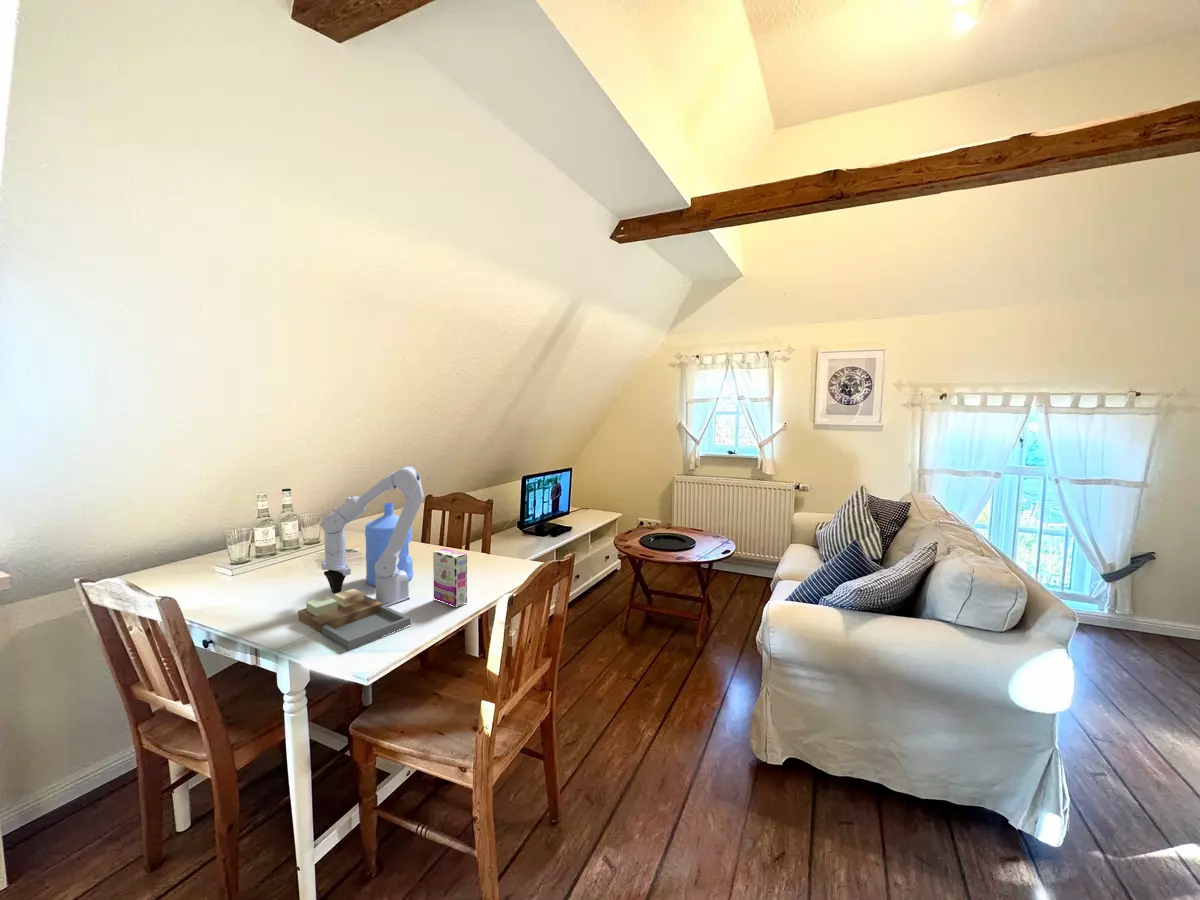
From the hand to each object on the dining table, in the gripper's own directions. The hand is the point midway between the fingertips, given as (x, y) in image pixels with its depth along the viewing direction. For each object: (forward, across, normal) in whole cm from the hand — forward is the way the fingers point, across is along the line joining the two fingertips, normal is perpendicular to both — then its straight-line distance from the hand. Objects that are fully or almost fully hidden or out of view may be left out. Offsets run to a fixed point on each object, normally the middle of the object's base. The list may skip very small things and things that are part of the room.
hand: (336, 592), depth 155 cm
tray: (+4, +24, -4) cm, 25 cm away
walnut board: (+4, +10, -4) cm, 11 cm away
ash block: (+1, +8, 0) cm, 8 cm away
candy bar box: (+4, +26, +24) cm, 35 cm away
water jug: (+4, -7, +22) cm, 24 cm away
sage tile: (+1, +8, -8) cm, 11 cm away
